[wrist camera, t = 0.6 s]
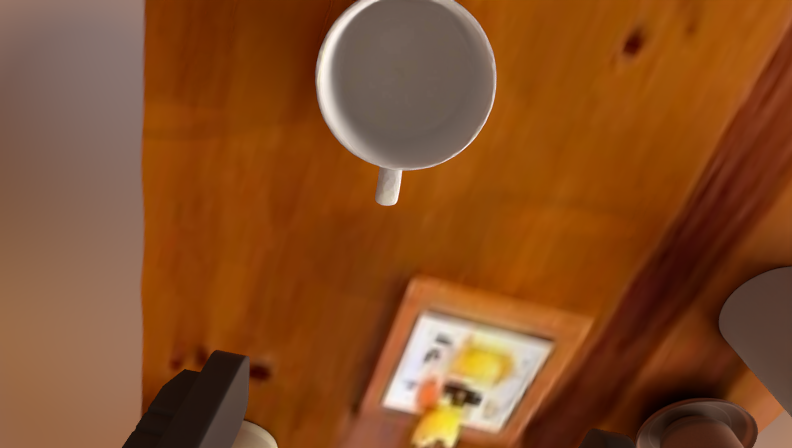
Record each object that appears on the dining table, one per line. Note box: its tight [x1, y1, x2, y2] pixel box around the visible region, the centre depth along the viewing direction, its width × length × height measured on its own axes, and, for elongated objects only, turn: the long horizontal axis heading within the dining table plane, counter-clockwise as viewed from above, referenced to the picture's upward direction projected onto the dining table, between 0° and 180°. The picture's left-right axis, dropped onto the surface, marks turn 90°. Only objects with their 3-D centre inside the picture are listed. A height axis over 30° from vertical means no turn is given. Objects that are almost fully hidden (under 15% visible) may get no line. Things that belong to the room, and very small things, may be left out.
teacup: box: [315, 0, 496, 205], centre depth 31 cm, size 14×11×8 cm
